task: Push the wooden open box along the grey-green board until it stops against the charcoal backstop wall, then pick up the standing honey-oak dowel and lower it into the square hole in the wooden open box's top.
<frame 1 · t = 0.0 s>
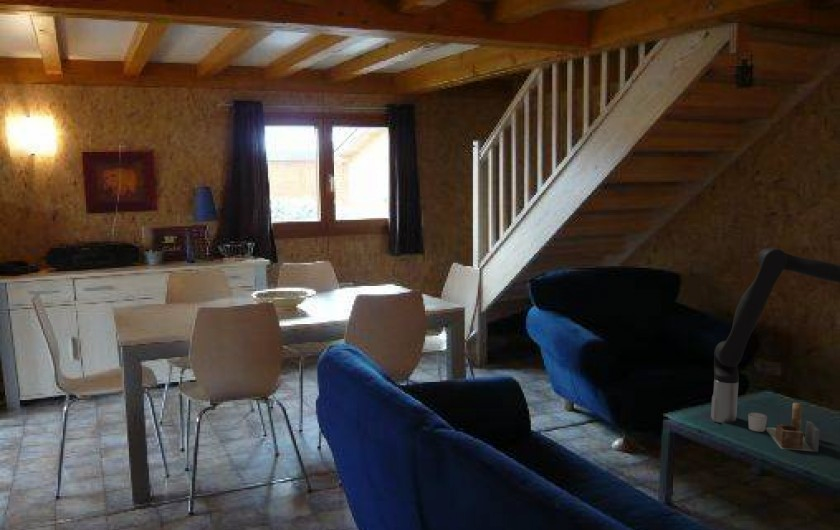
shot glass: (756, 432, 274), on the table
board: (789, 441, 264), on the table
wall: (811, 446, 256), resting on board
dowel: (795, 433, 269), point 1 cm above the table, touching board
wooden open box: (789, 436, 257), point 4 cm above the table, slide at 0.0 cm
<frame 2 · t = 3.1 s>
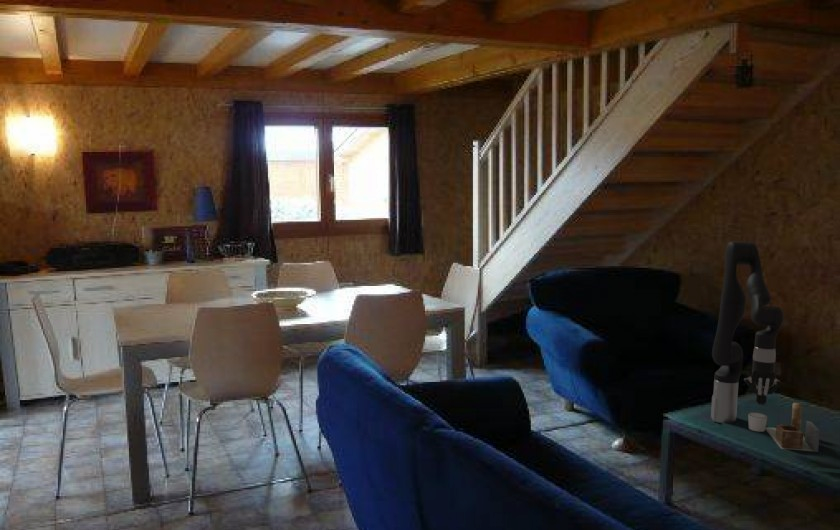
hand: (760, 404, 258), 16 cm above the table, tool pointing down, fingers closed
nothing on the table moved.
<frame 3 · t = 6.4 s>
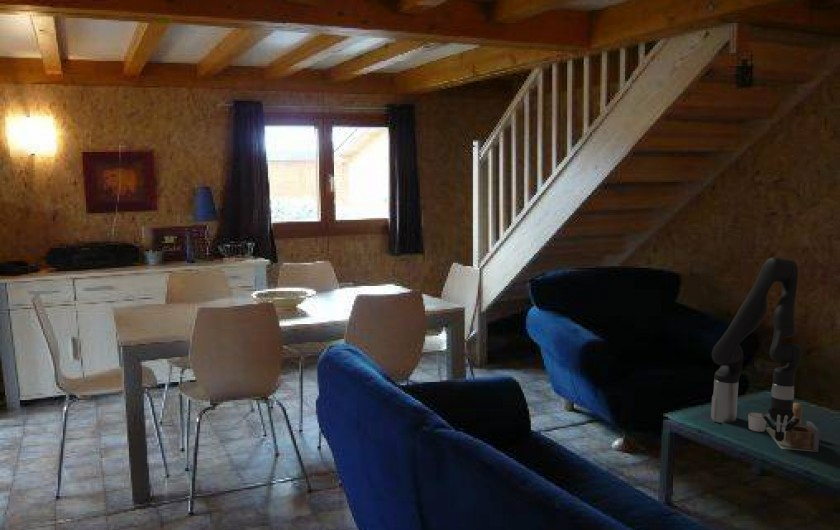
hand: (779, 440, 258), 2 cm above the table, tool pointing down, fingers closed
wooden open box: (799, 436, 257), point 4 cm above the table, slide at 3.5 cm, touching hand, wall
everything else where it was.
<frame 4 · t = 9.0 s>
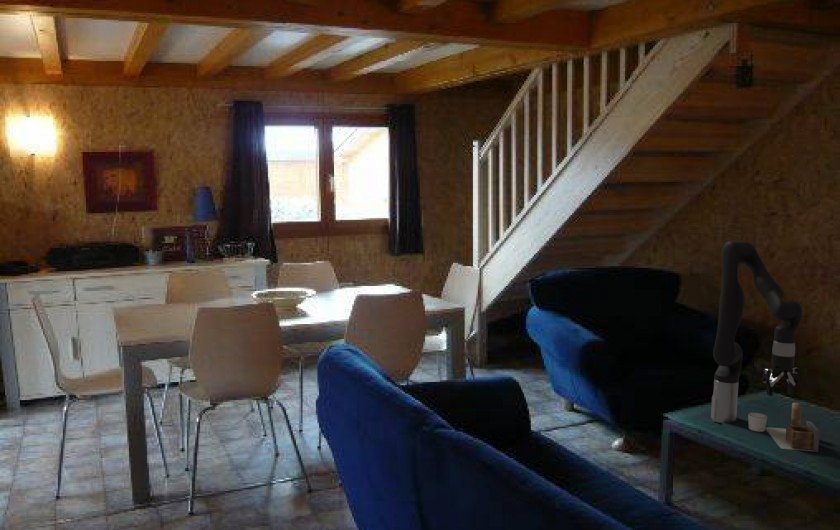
hand: (779, 395, 260), 19 cm above the table, tool pointing down, fingers open, 8 cm apart
wooden open box: (799, 436, 257), point 4 cm above the table, slide at 3.5 cm
everything else where it was.
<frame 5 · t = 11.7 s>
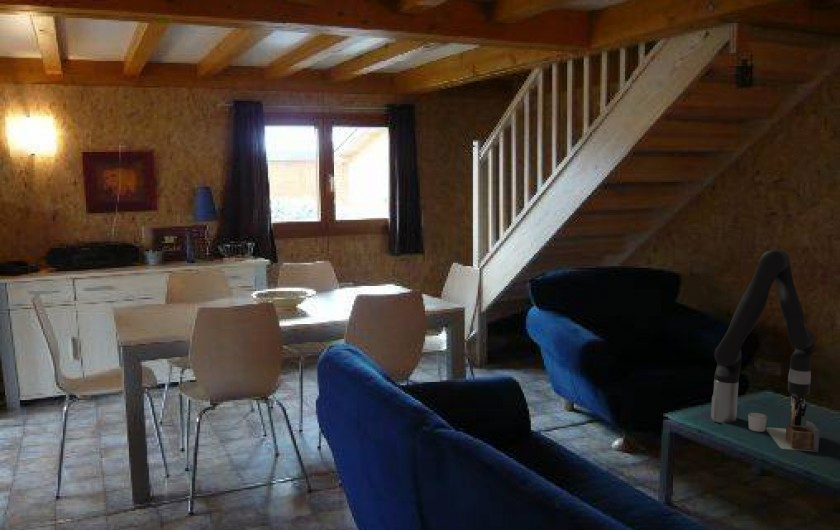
hand: (796, 423, 269), 5 cm above the table, tool pointing down, fingers closed on dowel, 3 cm apart
dowel: (795, 433, 269), point 1 cm above the table, touching board, gripper
everything else where it was.
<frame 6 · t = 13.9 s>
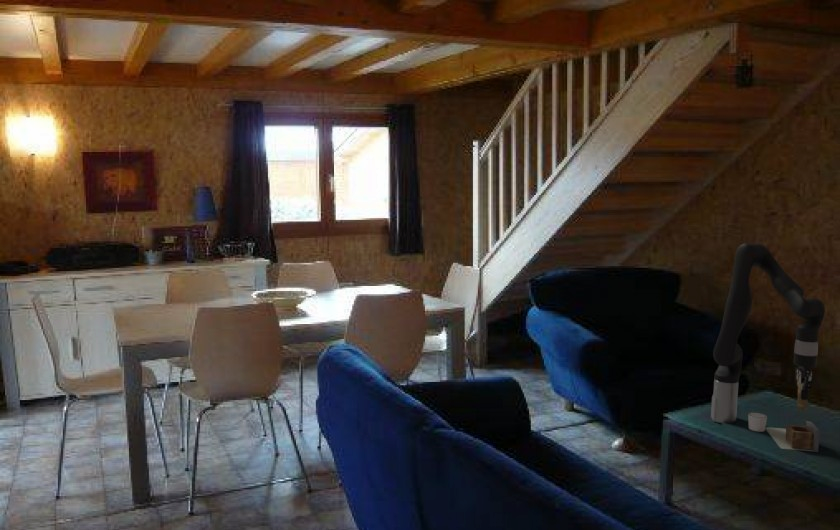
hand: (802, 397, 255), 20 cm above the table, tool pointing down, fingers closed on dowel, 3 cm apart
dowel: (801, 408, 255), point 15 cm above the table, touching gripper
everything else where it was.
when the fingers open (9 cm above the table, at t = 16.1 s): dowel drops 2 cm, resting on wooden open box.
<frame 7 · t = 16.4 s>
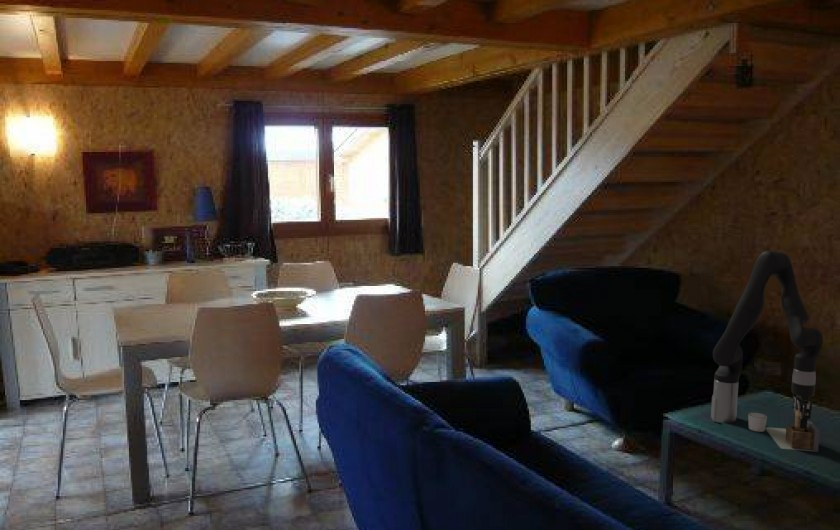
hand: (800, 425, 256), 9 cm above the table, tool pointing down, fingers open, 6 cm apart
dowel: (799, 441, 257), point 3 cm above the table, touching wooden open box
wooden open box: (799, 436, 257), point 4 cm above the table, slide at 3.5 cm, touching dowel
everything else where it was.
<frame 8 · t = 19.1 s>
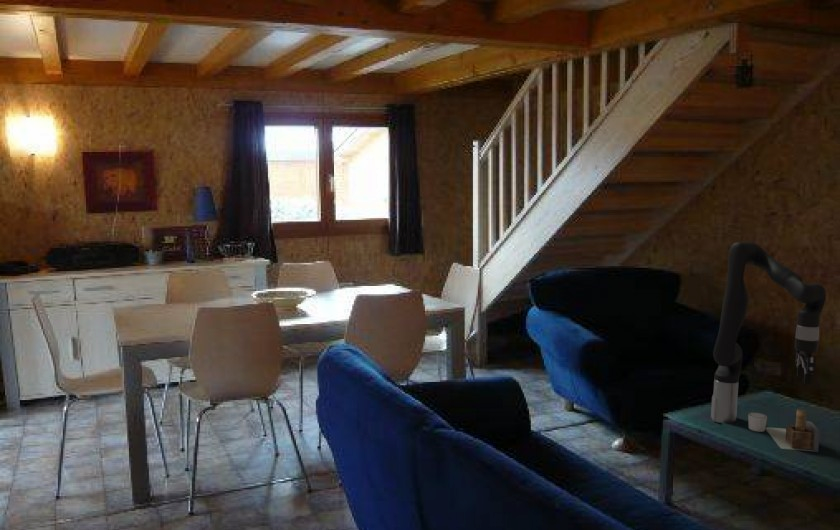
hand: (803, 380, 254), 26 cm above the table, tool pointing down, fingers open, 8 cm apart
nothing on the table moved.
at the end: wooden open box slide at 3.5 cm; dowel 0.1 cm off-centre on the wooden open box, point 1.3 cm above the wooden open box's base; dowel tilted 1° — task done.
